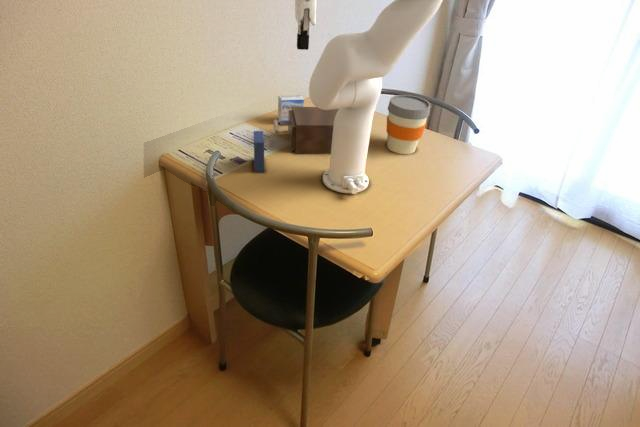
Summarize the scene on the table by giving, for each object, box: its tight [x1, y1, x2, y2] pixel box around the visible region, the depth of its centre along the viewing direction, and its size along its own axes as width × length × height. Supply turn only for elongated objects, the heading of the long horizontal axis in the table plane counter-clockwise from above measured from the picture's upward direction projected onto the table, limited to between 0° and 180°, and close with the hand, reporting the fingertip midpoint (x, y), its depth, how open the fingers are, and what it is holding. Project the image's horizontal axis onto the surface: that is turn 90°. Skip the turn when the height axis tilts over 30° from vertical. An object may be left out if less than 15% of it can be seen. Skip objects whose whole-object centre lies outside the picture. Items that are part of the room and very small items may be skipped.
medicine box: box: [277, 95, 305, 126], centre depth 148 cm, size 8×4×9 cm, turn 105°
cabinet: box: [292, 106, 339, 155], centre depth 136 cm, size 19×14×9 cm
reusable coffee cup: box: [386, 94, 431, 155], centre depth 136 cm, size 13×13×15 cm
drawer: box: [272, 110, 296, 151], centre depth 136 cm, size 22×12×7 cm, turn 98°
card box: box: [253, 130, 265, 173], centre depth 122 cm, size 3×7×9 cm, turn 8°
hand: (302, 48), depth 127 cm, fingers closed
